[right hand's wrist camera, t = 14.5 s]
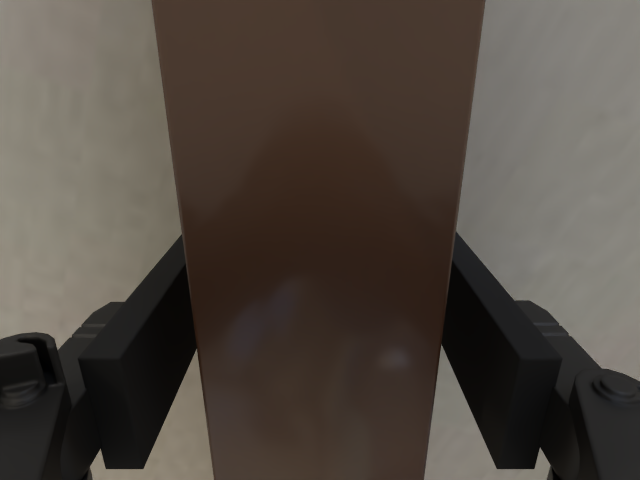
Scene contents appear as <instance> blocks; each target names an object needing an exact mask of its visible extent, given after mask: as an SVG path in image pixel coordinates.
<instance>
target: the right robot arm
mask: <svg viewBox="0 0 640 480" xmlns="http://www.w3.org/2000/svg"><path fill="white" fill-rule="evenodd" d="M441 344H442V346H443V348H444V351H445V353H446V355H447V357H448V360H449V362H450V364H451V366H452V369H453V371H454V373H455V375H456V378H457V380H458V382H459V384H460V387H461V389H462V391H463V394H464V396H465V398H466V400H467V403H468V405H469V407H470V409H471V412H472V414H473V416H474V418H475V421H476V423H477V425H478V427H479V430H480V432H481V434H482V436H483V439H484V441H485V443H486V445H487V448H488V450H489V452H490V454H491V457H492V459H493V461H494V463H495V466H496V468H497V469H534V468H535V464H536V460H537V456H538V452H539V449H540V448H541V449H542V451H543V453H544V454H545V456H546V458H547V459H548V461H549V463H550V465H551V466H550V470H549V473H548V477H547V480H640V381H638V380H636V379H633V378H631V377H629V376H627V375H625V374H623V373H619V372H616V371H613V370H609V369H602V368H601V367H600V366H599V365H598V364H597V363H596V362H595V361H594V360H593V359H592V358H591V357H590V356H589V355H588V354H587V353H586V352H585V351H584V349H583V348H582V347H581V346H580V345H579V344H578V343H577V342H576V341H575V340H574V339H573V338H572V337H571V336H569V335H568V332H567V331H566V330H565V329H564V328H563V327H562V326H559V323H558V322H557V321H556V320H555V319H554V318H553V317H552V316H551V314H550V313H549V312H548V311H546V310H545V309H543V308H541V307H539V306H538V305H536V304H534V303H533V302H531V301H514V300H513V299H512V297H511V296H510V295H509V294H508V293H507V292H506V290H505V289H504V288H503V287H502V286H501V284H500V283H499V282H498V281H497V280H496V278H495V277H494V276H493V275H492V274H491V273H490V271H489V270H488V269H487V268H486V267H485V265H484V264H483V263H482V262H481V261H480V259H479V258H478V257H477V256H476V255H475V254H474V252H473V251H472V250H471V249H470V248H469V246H468V245H467V244H466V243H465V242H464V240H463V239H462V238H461V237H460V236H459V235H458V233H457V232H456V233H455V241H454V249H453V257H452V264H451V272H450V280H449V288H448V295H447V303H446V311H445V319H444V327H443V334H442V342H441ZM196 349H197V344H196V337H195V329H194V321H193V314H192V306H191V298H190V291H189V283H188V275H187V268H186V260H185V252H184V245H183V237H182V235H181V236H180V237H179V238H178V240H177V241H176V242H175V243H174V244H173V245H172V247H171V248H170V249H169V250H168V251H167V253H166V254H165V255H164V256H163V257H162V259H161V260H160V261H159V262H158V263H157V264H156V266H155V267H154V268H153V269H152V270H151V272H150V273H149V274H148V275H147V276H146V278H145V279H144V280H143V281H142V282H141V283H140V285H139V286H138V287H137V288H136V289H135V291H134V292H133V293H132V294H131V295H130V297H129V298H128V299H127V300H126V301H125V302H110V303H108V304H107V305H105V306H103V307H102V308H100V309H98V310H97V311H95V312H93V313H92V314H91V315H90V317H89V318H88V319H87V320H86V321H85V322H84V323H83V324H82V327H79V328H78V329H77V330H76V331H75V333H74V334H73V335H72V338H69V339H68V340H67V341H66V342H65V343H64V344H63V345H62V346H61V347H60V349H59V350H57V347H56V343H55V339H54V338H53V337H51V336H50V335H48V334H44V333H37V332H34V333H23V334H18V335H14V336H10V337H6V338H3V339H1V340H0V480H93V479H92V473H91V470H90V466H91V464H92V462H93V460H94V459H95V457H96V455H97V454H98V452H99V450H100V448H101V452H102V455H103V459H104V463H105V467H106V469H143V468H144V466H145V464H146V462H147V459H148V457H149V455H150V453H151V450H152V448H153V446H154V444H155V441H156V439H157V437H158V435H159V432H160V430H161V428H162V426H163V423H164V421H165V419H166V416H167V414H168V412H169V410H170V407H171V405H172V403H173V401H174V398H175V396H176V394H177V392H178V389H179V387H180V385H181V383H182V380H183V378H184V376H185V374H186V371H187V369H188V367H189V365H190V362H191V360H192V358H193V356H194V353H195V351H196Z"/></svg>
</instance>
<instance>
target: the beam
mask: <svg viewBox="0 0 640 480" xmlns="http://www.w3.org/2000/svg"><path fill="white" fill-rule="evenodd" d="M152 8H153V15H154V23H155V31H156V38H157V46H158V54H159V61H160V69H161V77H162V84H163V92H164V100H165V107H166V115H167V122H168V130H169V138H170V145H171V153H172V161H173V168H174V176H175V184H176V191H177V199H178V207H179V214H180V222H181V230H182V237H183V245H184V252H185V260H186V268H187V275H188V283H189V291H190V298H191V306H192V314H193V321H194V329H195V337H196V344H197V352H198V360H199V367H200V375H201V383H202V390H203V398H204V405H205V413H206V421H207V428H208V436H209V444H210V451H211V459H212V467H213V474H214V480H424V474H425V466H426V459H427V451H428V443H429V435H430V428H431V420H432V412H433V404H434V396H435V389H436V381H437V373H438V365H439V358H440V350H441V342H442V334H443V327H444V319H445V311H446V303H447V295H448V288H449V280H450V272H451V264H452V257H453V249H454V241H455V233H456V225H457V218H458V210H459V202H460V194H461V187H462V179H463V171H464V163H465V155H466V148H467V140H468V132H469V124H470V117H471V109H472V101H473V93H474V86H475V78H476V70H477V62H478V54H479V47H480V39H481V31H482V23H483V16H484V8H485V0H152Z"/></svg>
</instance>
